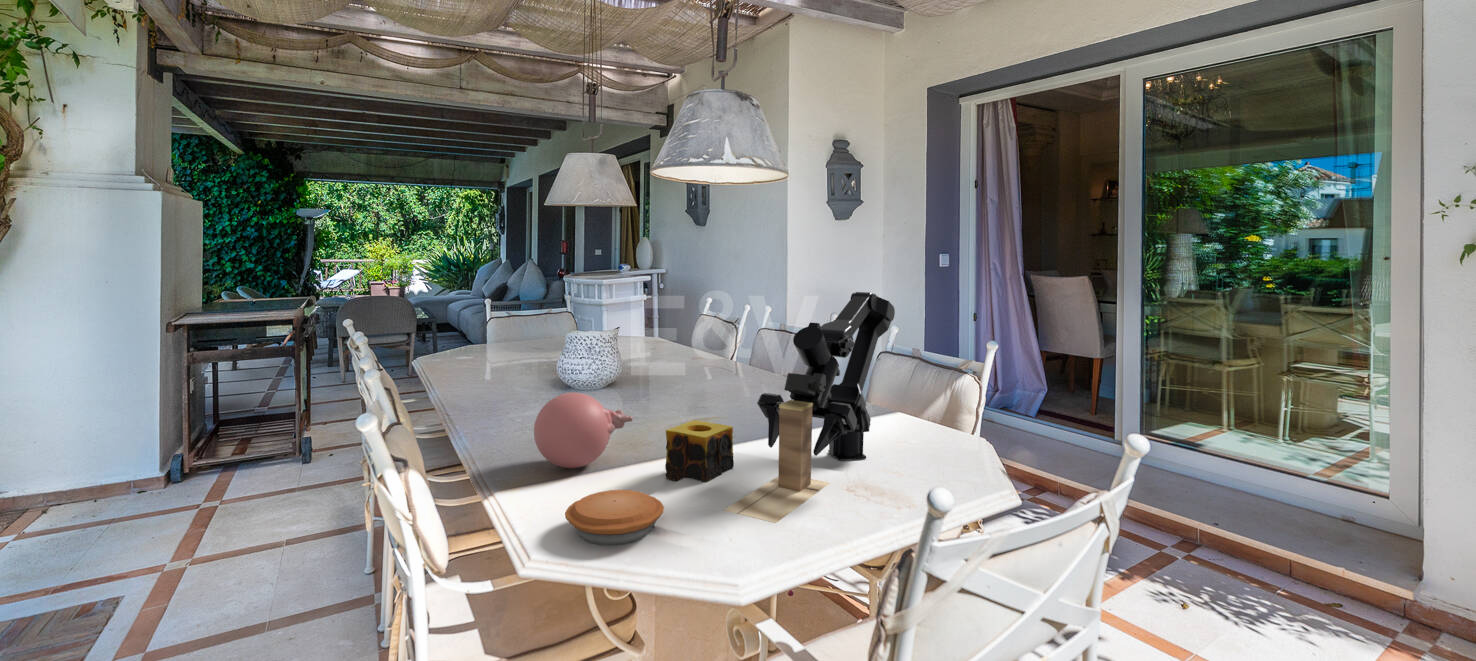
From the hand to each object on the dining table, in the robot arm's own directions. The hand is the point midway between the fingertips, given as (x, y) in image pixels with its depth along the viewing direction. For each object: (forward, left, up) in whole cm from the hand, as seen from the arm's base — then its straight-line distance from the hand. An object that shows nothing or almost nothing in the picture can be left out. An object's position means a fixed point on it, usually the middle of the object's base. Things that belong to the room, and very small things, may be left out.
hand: (791, 450), depth 123 cm
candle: (+15, -13, -9) cm, 22 cm away
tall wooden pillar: (-1, -1, -7) cm, 7 cm away
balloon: (+37, -25, -9) cm, 45 cm away
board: (+3, +3, -8) cm, 9 cm away
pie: (+33, +9, -9) cm, 35 cm away
